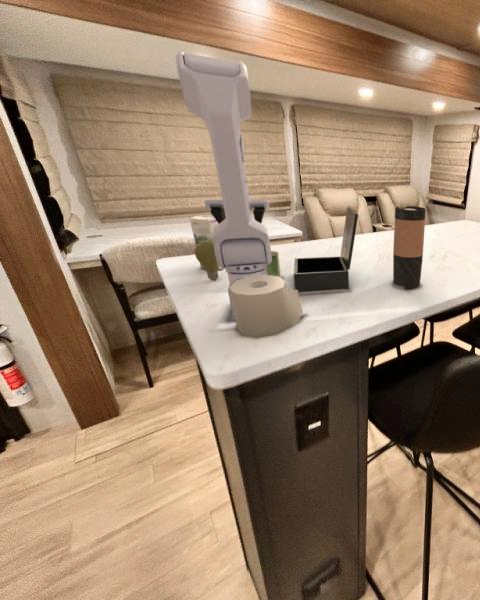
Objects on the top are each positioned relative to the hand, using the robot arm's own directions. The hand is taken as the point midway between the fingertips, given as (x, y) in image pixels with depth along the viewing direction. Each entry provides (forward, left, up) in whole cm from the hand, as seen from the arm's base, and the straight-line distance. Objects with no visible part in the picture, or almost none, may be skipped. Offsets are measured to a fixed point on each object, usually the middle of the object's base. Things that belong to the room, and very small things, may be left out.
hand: (243, 236), depth 82 cm
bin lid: (-12, -26, +2) cm, 29 cm away
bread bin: (-12, -19, -10) cm, 25 cm away
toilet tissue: (-32, -8, -11) cm, 35 cm away
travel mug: (-17, -41, -11) cm, 46 cm away
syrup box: (+8, +10, -11) cm, 17 cm away
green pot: (-6, -6, -10) cm, 13 cm away
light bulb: (-4, +8, -11) cm, 14 cm away
